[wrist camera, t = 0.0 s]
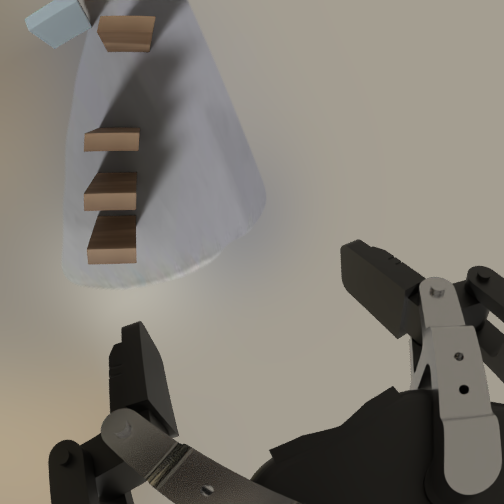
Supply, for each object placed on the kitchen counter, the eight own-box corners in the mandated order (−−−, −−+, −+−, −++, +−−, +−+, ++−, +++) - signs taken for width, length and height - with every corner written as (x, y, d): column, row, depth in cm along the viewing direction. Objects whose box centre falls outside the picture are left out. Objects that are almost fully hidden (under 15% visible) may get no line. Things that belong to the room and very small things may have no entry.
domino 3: (99, 127, 31) (84, 133, 23) (139, 127, 33) (139, 132, 24) (98, 141, 32) (84, 151, 23) (138, 140, 33) (138, 150, 25)
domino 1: (50, 39, 24) (24, 19, 15) (87, 17, 24) (72, -11, 16) (54, 48, 24) (28, 30, 16) (91, 27, 25) (77, 1, 17)
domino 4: (97, 172, 33) (83, 194, 25) (136, 172, 35) (136, 193, 27) (97, 185, 34) (84, 210, 25) (136, 185, 36) (135, 209, 27)
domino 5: (97, 216, 35) (86, 249, 27) (135, 215, 37) (136, 248, 29) (98, 228, 36) (88, 264, 28) (135, 227, 38) (136, 263, 30)
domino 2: (109, 39, 27) (100, 16, 18) (151, 40, 28) (155, 16, 20) (107, 51, 27) (97, 32, 19) (149, 52, 29) (152, 32, 21)
